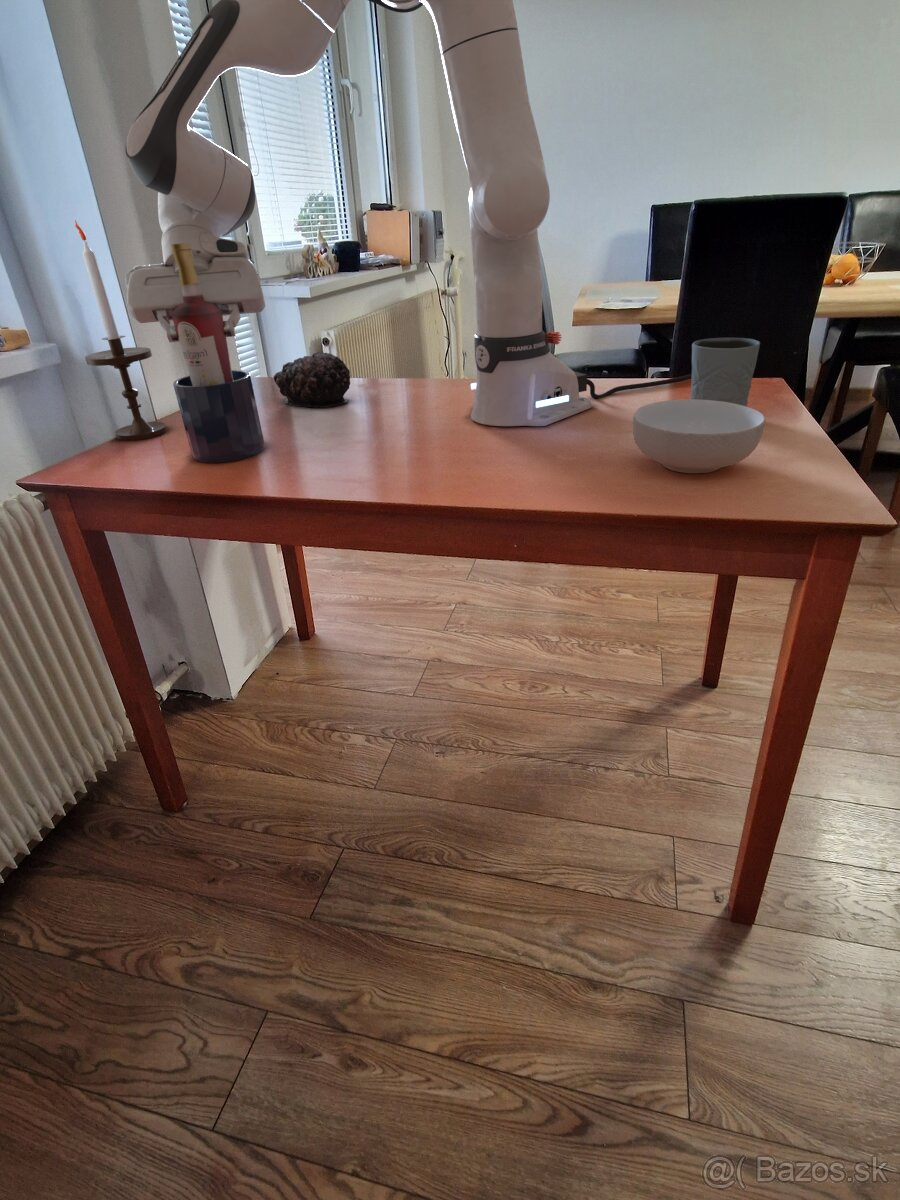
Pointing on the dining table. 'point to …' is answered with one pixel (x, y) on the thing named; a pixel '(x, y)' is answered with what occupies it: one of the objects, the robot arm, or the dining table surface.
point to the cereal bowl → (697, 433)
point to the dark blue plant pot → (220, 419)
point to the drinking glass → (723, 369)
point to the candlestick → (118, 354)
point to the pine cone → (314, 381)
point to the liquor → (199, 327)
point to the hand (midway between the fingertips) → (202, 336)
